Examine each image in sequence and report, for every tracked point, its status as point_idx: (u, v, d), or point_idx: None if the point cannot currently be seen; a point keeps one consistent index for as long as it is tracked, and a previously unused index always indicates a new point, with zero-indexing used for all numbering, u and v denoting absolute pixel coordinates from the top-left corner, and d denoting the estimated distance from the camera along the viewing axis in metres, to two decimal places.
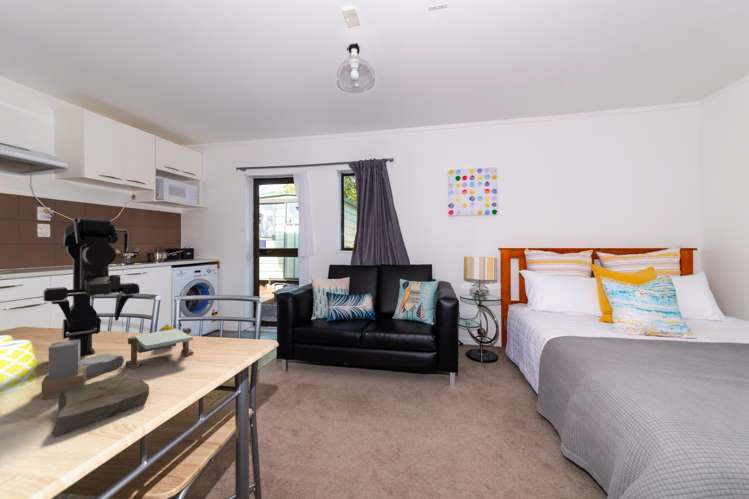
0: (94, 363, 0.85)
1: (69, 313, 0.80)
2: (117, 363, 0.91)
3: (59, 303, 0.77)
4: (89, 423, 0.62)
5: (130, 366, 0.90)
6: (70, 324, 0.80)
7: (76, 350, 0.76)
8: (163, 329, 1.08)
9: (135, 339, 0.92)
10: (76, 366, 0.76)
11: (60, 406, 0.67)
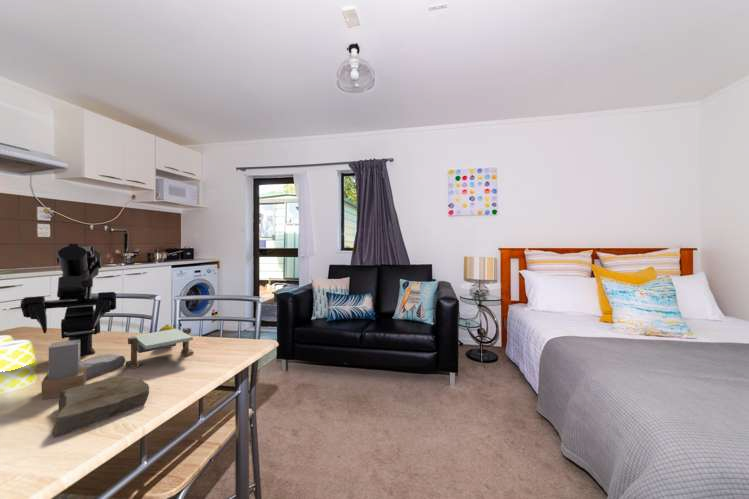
0: (96, 363, 0.85)
1: (44, 318, 0.81)
2: (119, 363, 0.91)
3: (34, 306, 0.80)
4: (89, 423, 0.62)
5: (130, 366, 0.90)
6: (44, 328, 0.79)
7: (76, 350, 0.76)
8: (163, 329, 1.08)
9: (135, 339, 0.92)
10: (76, 366, 0.76)
11: (60, 406, 0.67)
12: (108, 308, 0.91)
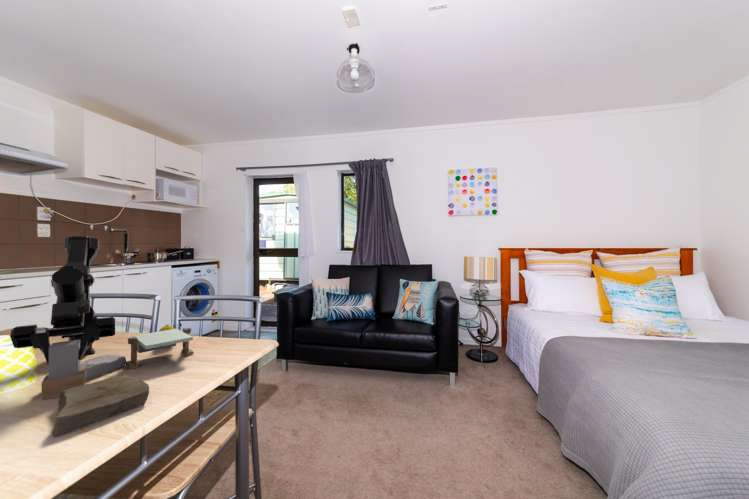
0: (97, 364, 0.85)
1: (47, 348, 0.75)
2: (120, 363, 0.91)
3: (37, 335, 0.74)
4: (89, 423, 0.62)
5: (130, 366, 0.90)
6: (47, 360, 0.74)
7: (76, 350, 0.76)
8: (163, 329, 1.08)
9: (135, 339, 0.92)
10: (76, 366, 0.76)
11: (60, 406, 0.67)
12: (97, 336, 0.83)
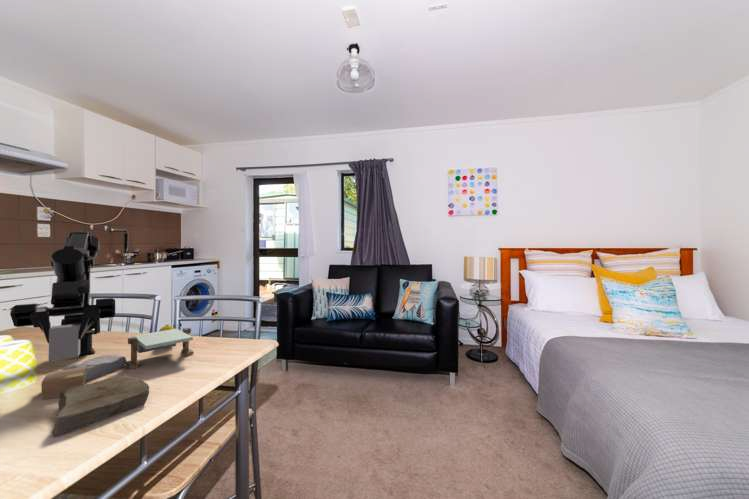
0: (98, 364, 0.85)
1: (47, 326, 0.75)
2: (120, 364, 0.91)
3: (37, 313, 0.74)
4: (89, 423, 0.62)
5: (130, 366, 0.90)
6: (48, 338, 0.74)
7: (76, 332, 0.76)
8: (163, 329, 1.08)
9: (135, 339, 0.92)
10: (76, 348, 0.76)
11: (60, 406, 0.67)
12: (97, 317, 0.83)
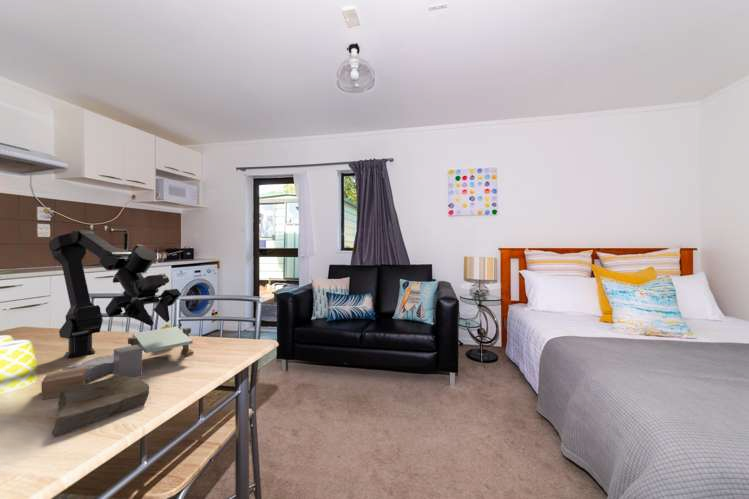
0: (98, 364, 0.84)
1: (146, 312, 0.89)
2: None
3: (137, 302, 0.88)
4: (89, 423, 0.62)
5: None
6: (151, 321, 0.89)
7: (140, 354, 0.85)
8: None
9: (135, 339, 0.92)
10: (140, 368, 0.85)
11: (60, 406, 0.67)
12: None
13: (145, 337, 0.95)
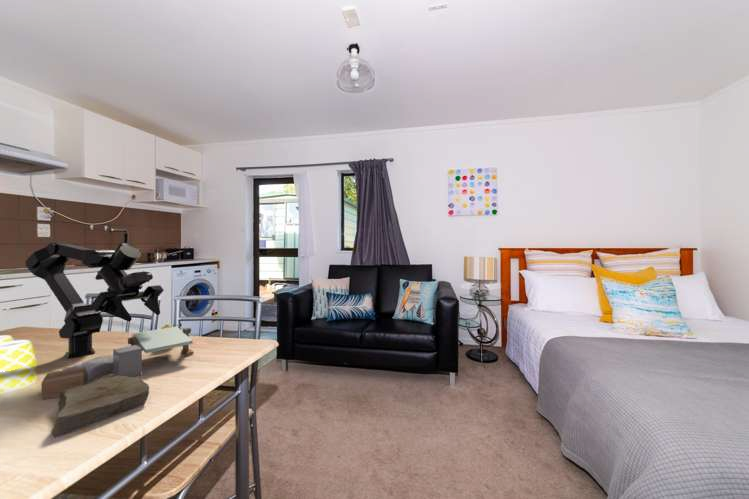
0: (100, 364, 0.84)
1: (124, 308, 0.92)
2: None
3: (115, 299, 0.90)
4: (89, 423, 0.62)
5: None
6: (130, 317, 0.92)
7: (140, 354, 0.85)
8: None
9: (135, 339, 0.92)
10: (140, 368, 0.85)
11: (60, 406, 0.67)
12: None
13: (145, 337, 0.95)
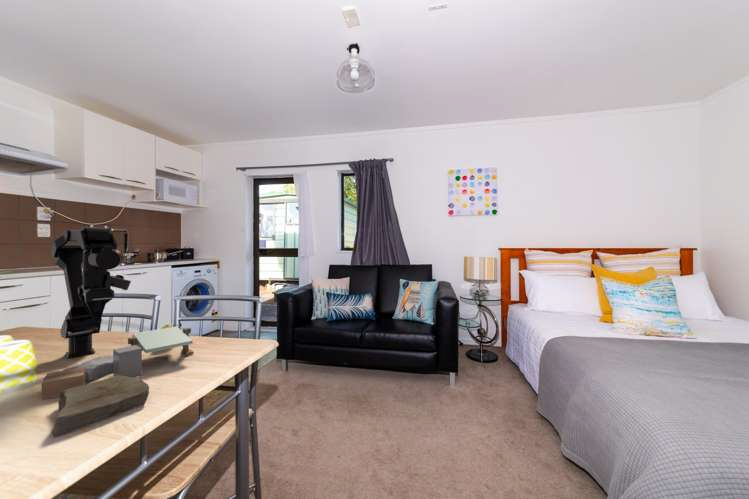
0: (100, 364, 0.84)
1: None
2: None
3: None
4: (89, 423, 0.62)
5: None
6: (100, 319, 0.93)
7: (140, 354, 0.85)
8: None
9: (135, 339, 0.92)
10: (140, 368, 0.85)
11: (60, 406, 0.67)
12: None
13: (145, 337, 0.95)
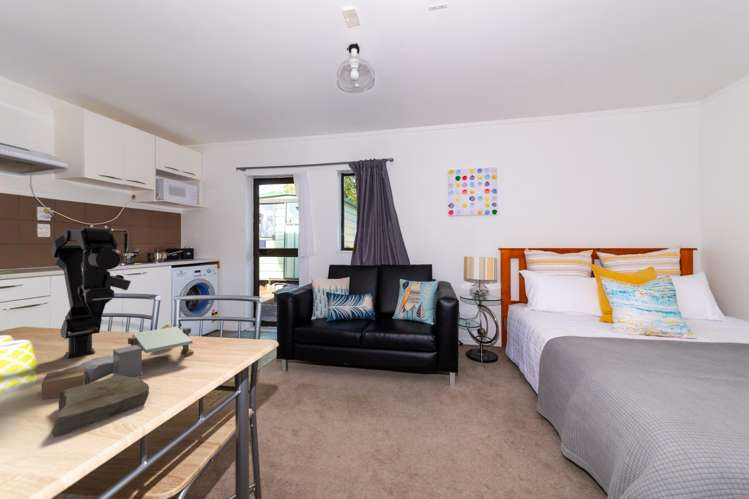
0: (101, 364, 0.85)
1: None
2: None
3: None
4: (89, 423, 0.62)
5: None
6: (100, 319, 0.93)
7: (140, 354, 0.85)
8: None
9: (135, 339, 0.92)
10: (140, 368, 0.85)
11: (60, 406, 0.67)
12: None
13: (145, 337, 0.95)
